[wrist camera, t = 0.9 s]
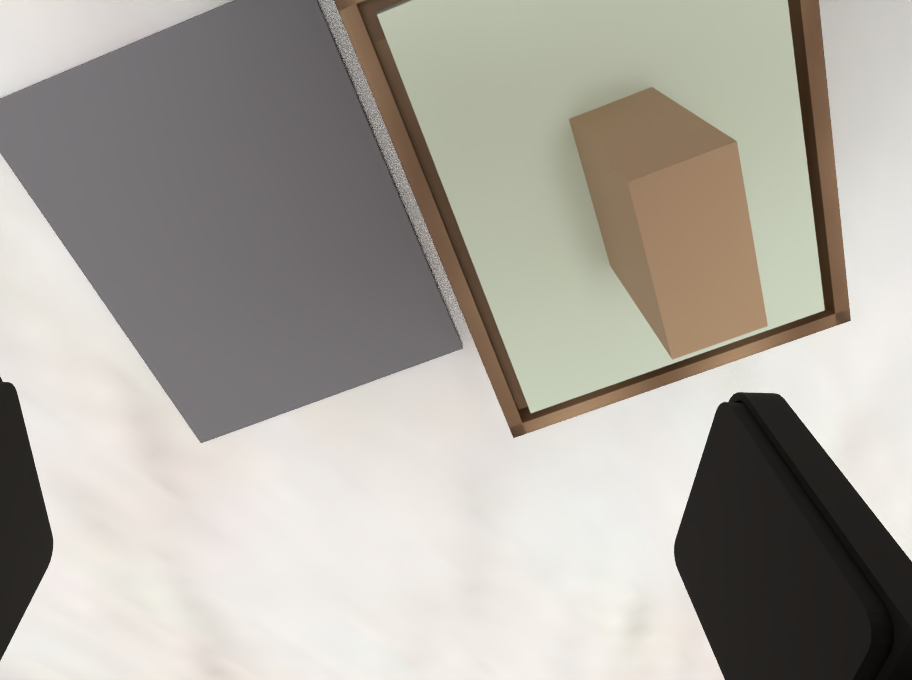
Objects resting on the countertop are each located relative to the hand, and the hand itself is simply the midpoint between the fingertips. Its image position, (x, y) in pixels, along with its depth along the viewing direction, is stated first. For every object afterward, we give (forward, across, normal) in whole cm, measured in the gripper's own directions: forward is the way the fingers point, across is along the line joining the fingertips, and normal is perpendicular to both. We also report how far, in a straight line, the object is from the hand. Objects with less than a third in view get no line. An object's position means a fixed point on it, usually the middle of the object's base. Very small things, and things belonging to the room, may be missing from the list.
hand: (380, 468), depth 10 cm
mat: (+28, +7, +9) cm, 30 cm away
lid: (+19, -9, +2) cm, 21 cm away
